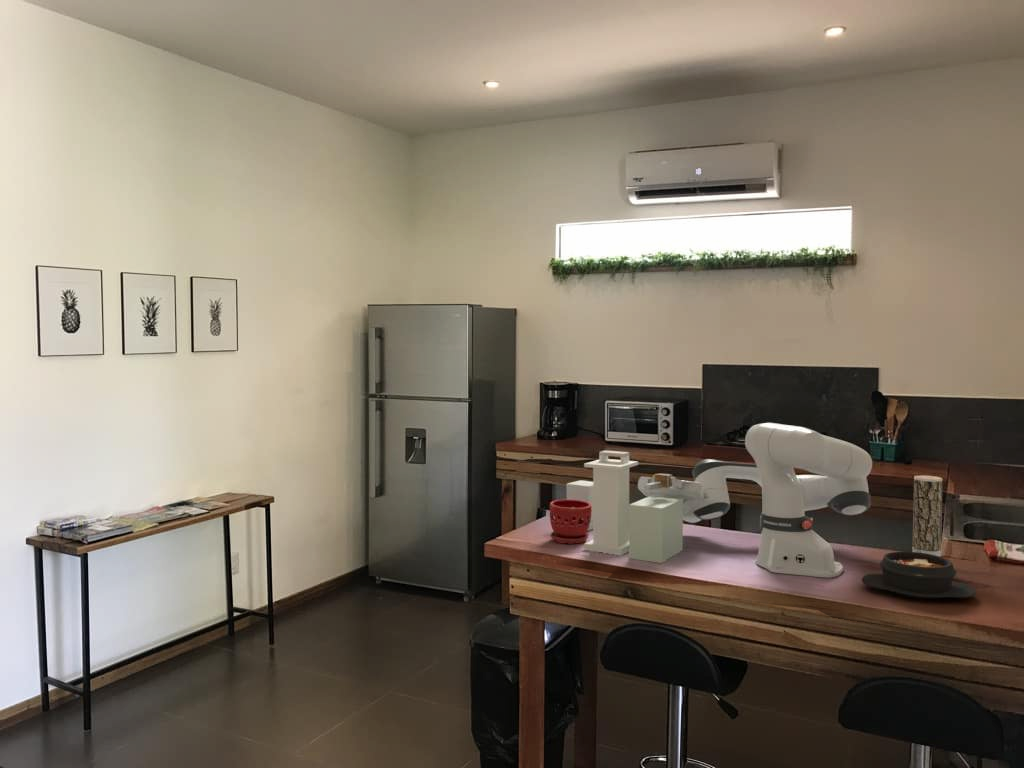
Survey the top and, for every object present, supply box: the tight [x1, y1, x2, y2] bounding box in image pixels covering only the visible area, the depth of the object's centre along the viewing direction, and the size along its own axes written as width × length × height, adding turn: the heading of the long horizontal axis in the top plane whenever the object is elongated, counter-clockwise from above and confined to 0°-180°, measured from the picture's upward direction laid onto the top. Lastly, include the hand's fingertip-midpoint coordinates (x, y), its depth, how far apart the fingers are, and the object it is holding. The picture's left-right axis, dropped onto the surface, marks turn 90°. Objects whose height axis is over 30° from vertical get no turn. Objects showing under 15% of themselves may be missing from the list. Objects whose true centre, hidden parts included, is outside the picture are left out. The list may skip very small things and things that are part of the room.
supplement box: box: [565, 479, 593, 532], centre depth 267 cm, size 9×9×15 cm
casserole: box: [861, 551, 977, 600], centre depth 195 cm, size 25×19×8 cm
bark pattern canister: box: [912, 475, 943, 557], centre depth 214 cm, size 7×7×25 cm
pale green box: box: [628, 495, 684, 564], centre depth 231 cm, size 10×16×16 cm, turn 147°
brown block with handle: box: [645, 472, 674, 491], centre depth 232 cm, size 4×14×4 cm, turn 147°
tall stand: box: [583, 449, 639, 557], centre depth 238 cm, size 12×12×29 cm
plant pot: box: [549, 499, 592, 545], centre depth 248 cm, size 13×13×12 cm
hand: (663, 478), depth 236 cm, fingers closed on brown block with handle, 4 cm apart
